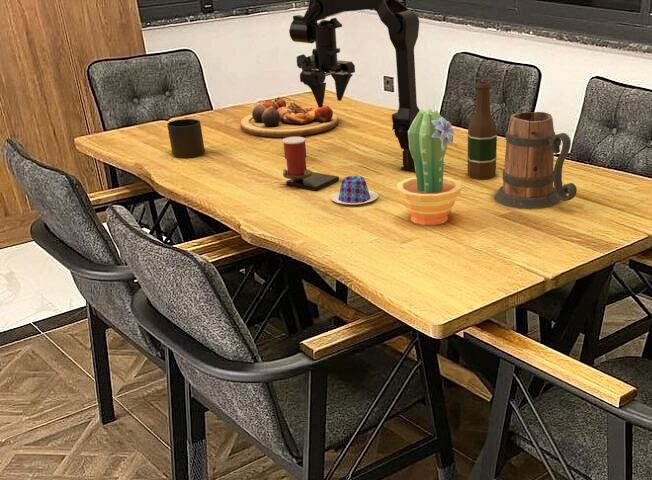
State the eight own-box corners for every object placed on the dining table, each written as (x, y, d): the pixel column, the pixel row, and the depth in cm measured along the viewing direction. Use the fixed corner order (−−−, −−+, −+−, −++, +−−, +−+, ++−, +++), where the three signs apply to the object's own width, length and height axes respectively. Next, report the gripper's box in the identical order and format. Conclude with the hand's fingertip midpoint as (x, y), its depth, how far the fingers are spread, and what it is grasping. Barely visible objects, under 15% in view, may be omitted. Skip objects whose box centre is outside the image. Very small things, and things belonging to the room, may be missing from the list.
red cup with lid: (313, 171, 221) (310, 138, 216) (299, 177, 217) (295, 143, 212) (295, 168, 224) (292, 135, 219) (281, 174, 219) (277, 140, 215)
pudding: (384, 193, 215) (383, 173, 212) (369, 208, 205) (367, 187, 202) (340, 190, 218) (339, 170, 215) (323, 205, 208) (321, 184, 205)
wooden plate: (357, 121, 279) (356, 95, 275) (296, 143, 257) (293, 116, 252) (284, 110, 294) (282, 85, 289) (220, 130, 271) (216, 104, 267)
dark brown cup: (194, 146, 256) (189, 115, 251) (210, 154, 248) (205, 123, 243) (165, 151, 251) (159, 120, 247) (179, 160, 243) (173, 128, 238)
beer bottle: (493, 180, 223) (496, 86, 210) (465, 178, 224) (465, 85, 211) (497, 171, 229) (500, 79, 216) (469, 170, 231) (470, 79, 218)
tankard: (480, 196, 212) (481, 115, 201) (526, 182, 221) (530, 104, 210) (548, 220, 197) (554, 134, 186) (595, 204, 206) (603, 121, 195)
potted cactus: (406, 233, 191) (403, 120, 177) (390, 211, 203) (385, 105, 190) (470, 225, 194) (471, 115, 181) (450, 204, 207) (450, 99, 193)
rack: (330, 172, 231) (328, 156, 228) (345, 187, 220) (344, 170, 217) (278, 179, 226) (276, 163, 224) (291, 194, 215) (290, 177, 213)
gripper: (322, 37, 239) (326, 94, 247) (281, 47, 225) (287, 107, 234) (354, 40, 234) (357, 98, 243) (314, 51, 221) (319, 112, 229)
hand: (330, 103), depth 237 cm, fingers open, 9 cm apart
